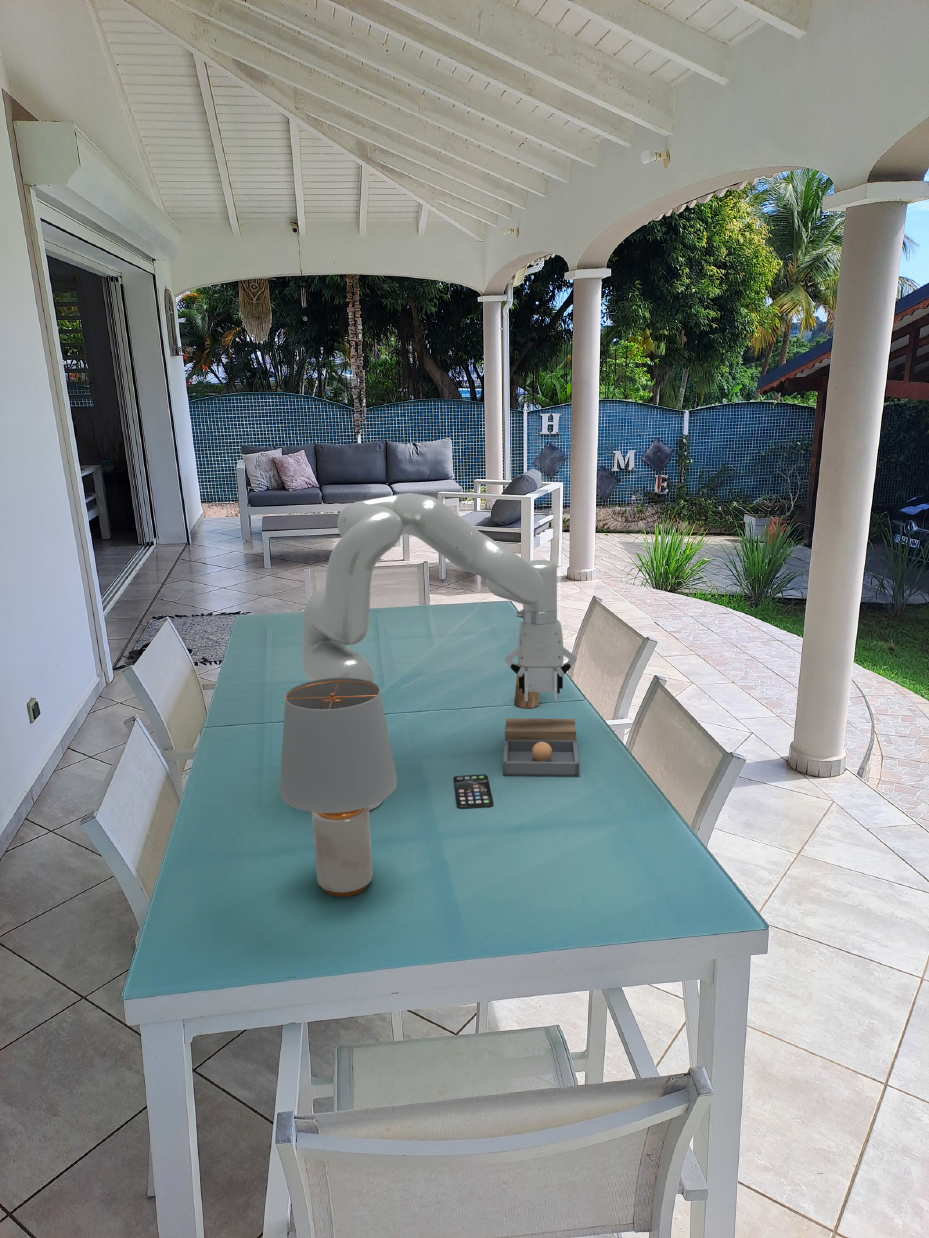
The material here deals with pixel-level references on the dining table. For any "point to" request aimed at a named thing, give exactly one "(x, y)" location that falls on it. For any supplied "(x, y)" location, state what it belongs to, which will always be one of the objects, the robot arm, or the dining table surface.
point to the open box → (540, 681)
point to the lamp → (337, 773)
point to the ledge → (540, 729)
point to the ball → (542, 751)
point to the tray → (524, 764)
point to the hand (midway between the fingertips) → (540, 691)
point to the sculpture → (520, 698)
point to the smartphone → (472, 791)
